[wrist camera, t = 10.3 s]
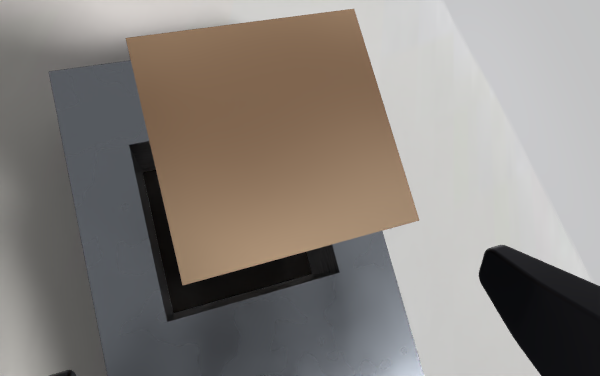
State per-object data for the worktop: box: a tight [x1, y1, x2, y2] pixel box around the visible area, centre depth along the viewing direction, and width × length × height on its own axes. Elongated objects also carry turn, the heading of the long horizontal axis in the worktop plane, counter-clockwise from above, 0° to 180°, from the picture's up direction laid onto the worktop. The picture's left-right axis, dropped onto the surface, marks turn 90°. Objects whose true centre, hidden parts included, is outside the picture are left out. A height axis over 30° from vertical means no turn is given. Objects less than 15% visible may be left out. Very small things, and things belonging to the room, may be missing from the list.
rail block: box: [49, 60, 424, 376], centre depth 17 cm, size 22×10×4 cm, turn 15°
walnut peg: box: [126, 9, 419, 285], centre depth 13 cm, size 4×4×12 cm
